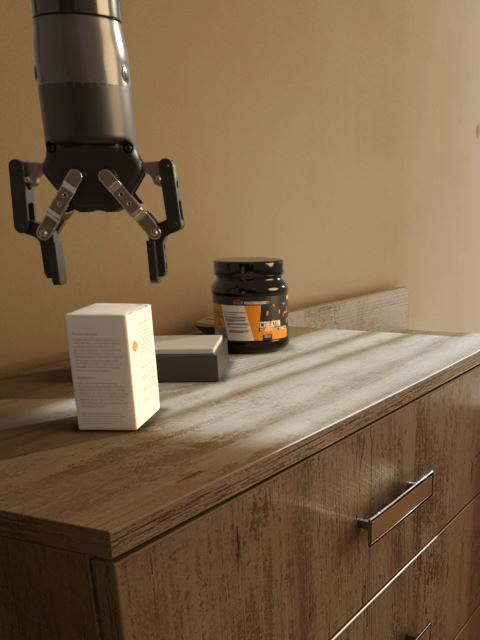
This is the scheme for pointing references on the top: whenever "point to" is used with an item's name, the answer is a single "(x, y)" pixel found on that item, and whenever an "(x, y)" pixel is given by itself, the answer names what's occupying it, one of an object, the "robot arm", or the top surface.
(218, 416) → the top surface
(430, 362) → the top surface
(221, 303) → the supplement container
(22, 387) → the top surface
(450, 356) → the top surface
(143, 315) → the small box
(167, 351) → the scale
